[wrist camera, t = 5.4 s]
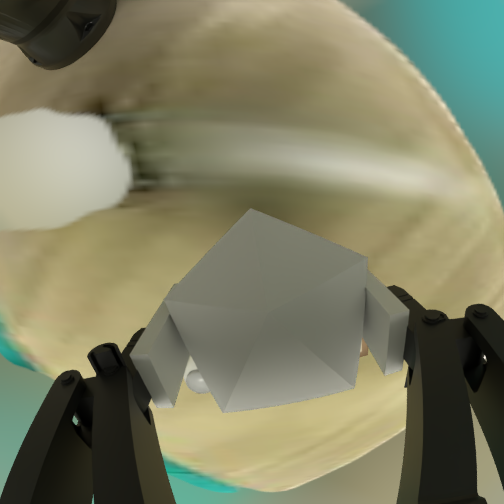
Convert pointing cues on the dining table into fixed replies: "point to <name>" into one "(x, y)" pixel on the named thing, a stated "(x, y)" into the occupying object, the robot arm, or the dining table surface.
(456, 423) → the robot arm
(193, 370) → the shaker
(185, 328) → the die
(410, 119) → the dining table surface
